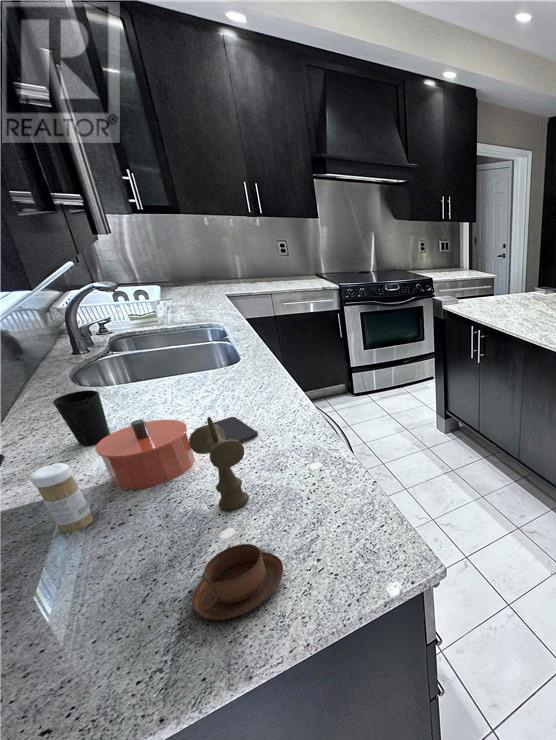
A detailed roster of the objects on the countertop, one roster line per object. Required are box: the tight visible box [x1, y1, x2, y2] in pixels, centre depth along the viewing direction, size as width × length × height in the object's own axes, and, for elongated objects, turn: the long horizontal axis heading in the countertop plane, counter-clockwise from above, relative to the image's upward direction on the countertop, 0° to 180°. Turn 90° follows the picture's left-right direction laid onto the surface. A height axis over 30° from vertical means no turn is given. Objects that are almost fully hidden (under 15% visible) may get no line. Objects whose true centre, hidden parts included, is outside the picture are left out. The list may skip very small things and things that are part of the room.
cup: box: [52, 389, 111, 447], centre depth 98 cm, size 8×8×12 cm
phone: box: [213, 416, 259, 443], centre depth 106 cm, size 7×1×15 cm
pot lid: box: [94, 419, 188, 458], centre depth 84 cm, size 15×15×5 cm
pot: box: [101, 432, 196, 491], centre depth 87 cm, size 14×14×10 cm
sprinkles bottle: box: [29, 462, 94, 533], centre depth 71 cm, size 5×5×13 cm
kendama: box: [188, 416, 250, 511], centre depth 78 cm, size 6×10×20 cm, turn 55°
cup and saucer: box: [191, 543, 284, 621], centre depth 63 cm, size 12×12×6 cm
